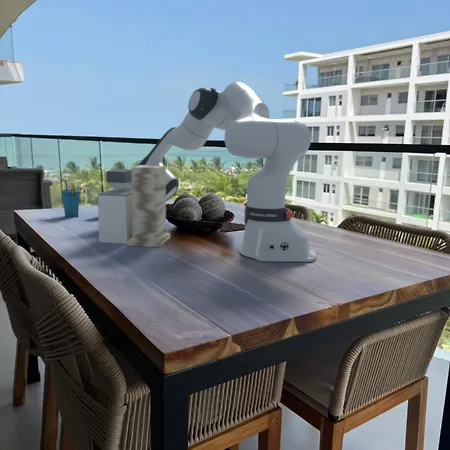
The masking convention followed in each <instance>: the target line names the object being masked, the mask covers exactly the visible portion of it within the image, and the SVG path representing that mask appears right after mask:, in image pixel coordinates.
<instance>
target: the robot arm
mask: <svg viewBox="0 0 450 450" xmlns="http://www.w3.org/2000/svg"><path fill="white" fill-rule="evenodd" d="M187 106H188V107H187V108H188V112H187V113H186V115H185V117H184V118H183V120H182V121H181V122H180V124H179V125H178V126H174V127H171V128H169V129H168V130H167V131H166V132H165V133H164V134H163V135H162V136H161V137H160V139H159V140H158V141H157V143H156V144H155V145H154V146H153V148H152V149H151V150H150V152H149V153H148V154H147V155H146V156H144V157H143V159H142V160H140V162H139V163H138V165H137V166H140V165H152V166H165V165H164V163H163V161H162V160H163V158H164V157H165V156H166V155H167V154H168V152H169V150H171V148H173V146H174V147H177V148H179V149H181V150H184V151H196V150H199V149H201V148H202V147H203V146H204V145H205V144H206V142H207V140H208V139H209V137H210V135H211V134H212V133H213V130H214V129H219V130H222V131H225V132H224V145H225V147H226V150H227V151H228V152H229V154H230V155H232V156H236V157H239V158H244V159H265V161H264V163H263V166H262V167H261V168H260V169H259V170H258V171H255V172H254V173H253V174H251V176H249V178H248V180H247V186H246V187H247V188H246V189H247V190H246V205H245V206H244V214H243V216H244V217H243V219H244V220H243V221H244V231H243V233H244V234H243V237H242V243H241V246H240V249H239V254H241V255H242V256H245V257H248V258H251V259H254V260H256V261H258V262H283V263H284V262H285V263H286V262H291V263H293V262H296V263H297V262H299V263H300V262H301V263H302V262H307V263H308V262H309V263H310V262H314V261H315V260H316V259H317V252H316V250H314V248H312V247H310V242H309V238H308V235H307V233H306V232H305V231H304V230H303V229H302V228H301V227H299V226H298V225H297V224H296V223H295V222H294V221H292V220H291V219H292V218H293V216H294V212H293V211H292V210H291V209H290V208H288V207H286V206H285V204H286V193H287V192H286V190H287V183H288V179H289V176H290V173H291V171H292V169H293V168H294V165H295V164H296V163H297V162H298V160H299V159H300V158H301V157H302V156H304V155H305V154H306V153H307V152H308V150H309V149H310V146H311V143H312V142H311V141H312V137H311V131H310V129H309V128H308V126H307V125H306V124H305V123H303V122H299V121H296V120H292V119H279V118H276V119H275V118H270V109H269V107H268V105H267V104H266V103H265V102H264V100H263V99H262V98H261V97H260V96H259V94H257V93H256V91H255V90H254V89H252V88H251V87H250V86H249V85H247V84H245V83H244V82H240V81H234V82H231V83H229V84H227V86H226V87H225V88H224V89H223V91H217V89H216V88H215V87H211V88H208V87H200V88H198V89H196V90H194V91H193V93H191V95H190V98H189V100H188V105H187ZM179 182H180V181H179V179H178V177H176V176H175V174H173V173H172V172H171V171H170V170H169V169H168V168H167V167H166V202H167V201H169V200H171V199H172V198H173V197H174V196H175V195H176V194H177V192H178V189H179V185H180V183H179ZM107 184H108V185H109V186H110V187H111V188H112V189H114V188H115V189H132V181H130V182H127V183H111V182H107Z"/></svg>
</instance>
